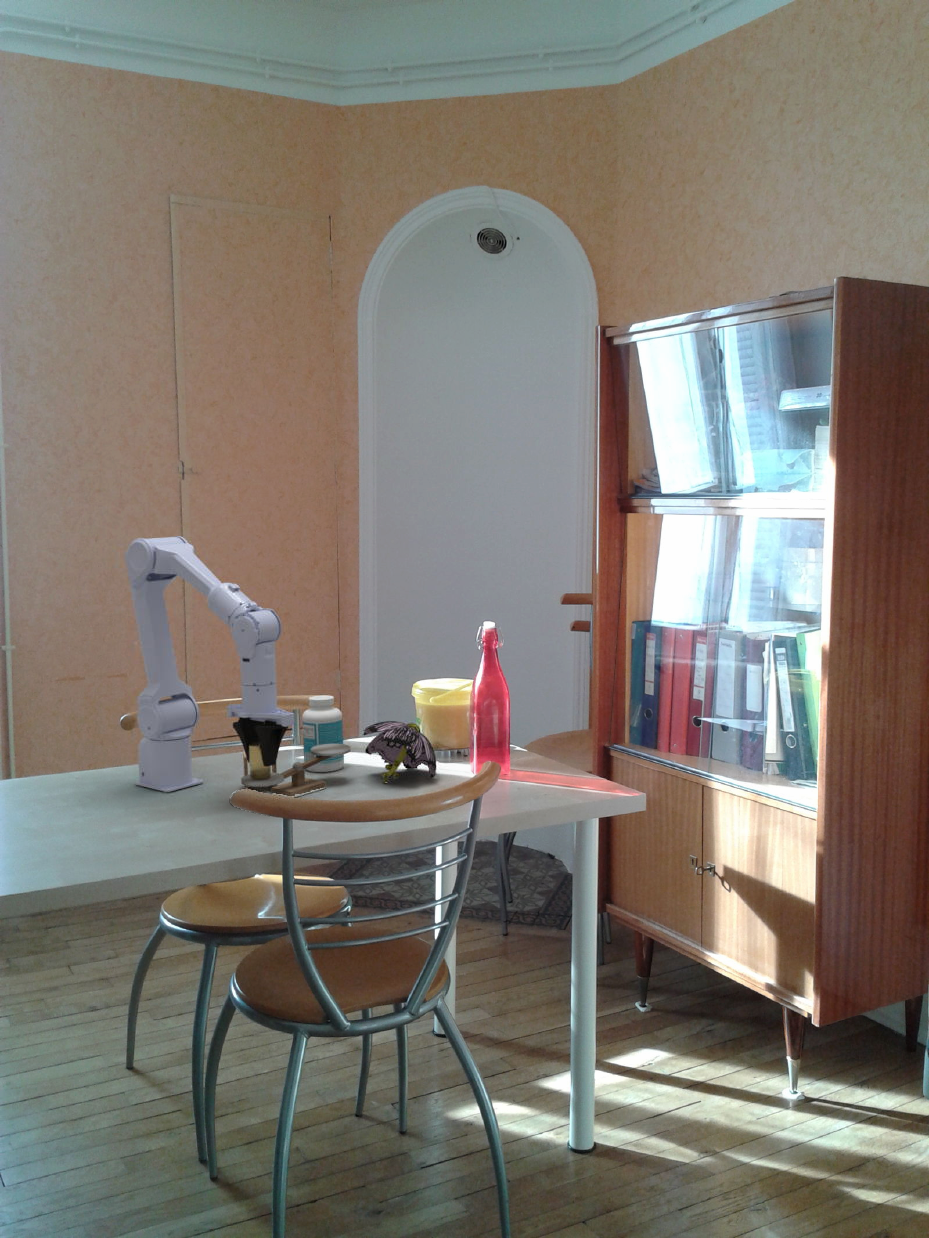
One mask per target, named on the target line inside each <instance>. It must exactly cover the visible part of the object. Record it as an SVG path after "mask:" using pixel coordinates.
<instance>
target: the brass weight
mask: <svg viewBox="0 0 929 1238" xmlns="http://www.w3.org/2000/svg"><path fill="white" fill-rule="evenodd" d="M249 762H250V763H249V774H250V778H253V779H264V778H268V777H270V776H271V772H272V766H268V767H266V766H264V764H263V760H262V750H261V744H260V742H257V743H252V744H249Z"/></svg>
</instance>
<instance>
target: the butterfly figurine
mask: <svg viewBox="0 0 929 1238" xmlns="http://www.w3.org/2000/svg"><path fill="white" fill-rule="evenodd" d="M420 728H421V727H420V726H419V724H418V725H417V724H416V723H414V722H409V723H407V724H405V723H403V722H399V721H397V720H396V721H395V720H393V721H392V720H387V721H379V722H376V723H374V724H370V725H369V726H368V727H365V729H363V734H362V736H367V735H371V734H375V733H379V734H377V735H376V736H375V737H374V738H373V739H372V740H370V742H369V743H368V744H367V747H366V748H365V751H364V752H365V753H366V754H367V755H370V756H371V755H372V754H376V753H377V754H378V756H380V757H381V758H380V760H383V761H384V762H383V764H385V766H384V768H385V770H387V771H384V772H382V783H383V782H388V783H389V777H391V776H392V777H393V779H397V778H399V772H396V771H397V769H398V768H399V767H400V766H401V764H402V765H403V766H404V768H405V769H406V770H417V769H418V767H419V766H421V765H424V766H427V769H428V773H429V777H430V778H434V777H435V776H436V775H437V774H436V772H437V757H436V753H435V749H434V748H433V745H432V743H431V741H430V740H429V739H428V737H426V736H425V735H424V733H422V732H421V729H420ZM380 732H381V733H380Z"/></svg>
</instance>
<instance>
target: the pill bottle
mask: <svg viewBox="0 0 929 1238" xmlns="http://www.w3.org/2000/svg"><path fill="white" fill-rule="evenodd" d="M308 705H309V706H310V707H309V708H307V709H306V710H305V711H304V712H303V713H302V719H301V721H302V742H303V743H302V744H303V745H302V746H303V763H304V762H306V761H308V760H310V759H312V758H314V757H317V756H318V755H314V754H312V753H311V748H312V747H314V746H317V745H322V744H344V730H343V729H344V727H343V726H344V725H343V713H342V711H341V710H340V709H339V708H337V707H335V706H334V705H335V696H333V695H324V694H323V695H313V696H310V697H309V698H308ZM344 766H345V754H343V755H336V756H332V757H330V758H328V759H325V760H323V761H321V762H319V763H317V764H315V765H313V766H311V767H309V768H306V769H305V770H307V771H310V772H313V773H328V772H329V771H330V772H334V771H338V770H340V769H342V768H343V767H344Z"/></svg>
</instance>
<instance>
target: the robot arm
mask: <svg viewBox="0 0 929 1238" xmlns="http://www.w3.org/2000/svg"><path fill="white" fill-rule="evenodd" d="M124 560H125V565H126V571H127V576H128V581H129V591H130V595H131V601H132V605H133V612H134V617H135V622H136V627H137V634H138V639H139V644H140V649H141V655H142V661H143V665H144V671H145V675H146V682H147V685H146V686H145V688H144V689H143V690H142V691H141V692H140V694H139V695H138V697H137V698H136V701H137V715H136V718H137V719H136V720H137V725H138V728H139V730H140V732H141V733H142V734H143V737H142V739H141V740H140V742H139V745H138V746H137V747H138V748H137V754H138V755H137V758H138V777H139V779H138V781H135V785H136V786H140V787H145V788H148V789H152V790H157V791H160V792H165V793H170V792H173V791H177V790H180V789H185V788H189V787H192V786H196V785H200V784H203V783H204V780H203V779H200V778H196V777H193V761H192V758H193V757H192V745H191V744H192V738H191V734H193V733H194V728H195V727H196V726H197V725H198V723H199V721H200V708H199V706H198V703H197V702H196V700H195V697H194V695H193V691H192V687H191V686H189V685H188V684H186V682H184V681H183V680H181V679H180V677H179V673H178V672H179V671H178V666H177V662H176V661H177V660H176V656H175V651H174V644H173V640H172V636H171V635H172V634H171V629H170V624H169V619H168V612H167V608H166V601H165V597H164V592H165V590H166V589H167V587H168V585H170V584H171V583H173V581H174V580H175V579H176V578H177V577H180V578H182V579H183V580H184V582H186V583H188V584H189V585H190V586H191V587H193V588H194V589H195V590H196V591H197V592H199V593H200V594H202V595H203V596H205V598H207V599H206V602H207V603H206V605H207V608H208V609H209V610H210V611H211V612H212V613H213V614H214V615H215V616H216V617H217V618H219V620H221V621H222V622H223V623H224V624H225V625H226V626H227V627H228V628H229V629H230V635H231V638H232V640H233V642H234V644H235V646H236V654H238V655H237V656H238V657H239V663H240V664H239V665H240V689H241V690H240V691H241V703H233V704H229V705H226V717H227V718H234V717H235V718H238V719H237V721H234V722H232V728H233V729H234V731H235V732H236V734H237V736H238V737H239V740H240V742H241V744H242V747H243V751H245V754H246V757H247V764H250V762H249V744H252V743H257V742H260V744H261V750H262V760H263V764H264V766H266V767H268V766H270V767H272V765H275V764H276V765H277V759H278V755H279V752H280V746H281V744H282V741H283V738H284V736H285V734H286V732H287V730H288V728H289V727H290V726H295V713H293V712H290V711H287V710H284V709H282V708H280V707H278V697H277V695H278V694H277V674H276V673H277V669H276V665H277V664H276V646H275V645H276V644H275V643H276V642H277V641H278V640H279V638H280V637H281V635H282V630H283V627H282V622H281V619H280V617H279V616H278V615H279V614H277V613H276V612H275V610H274V609H273V608H267V607H266V608H262V607H261V606H258V604H257V603H256V602H255V601H252V600H251V599H250V598H249V597H248V596H247V595H246V594H245V593H244V592H242V591H241V590H240V589H241V587H240V586H239V584H237V583H231V582H223V583H222V581H220V580H219V579H218V577H217V576H216V575H215V574H214V573H213V572H212V571H211V569H209V568H208V567H207V565H205V564H204V563H203V561H201V560H200V559H199V557H198V556H197V555H196V554H195V548H194V545H192V544H190V543H189V542H188V541H187V539H186V538H185V537H183V536H180V535H174V536H169V537H153V538H143V537H138V538H135V539H134V540H132V541H131V543H130V545H129V546H128V548H127V549H126V552H125V553H124ZM167 697H170V698H167ZM163 698H166V699H163ZM161 699H162V700H161Z"/></svg>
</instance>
